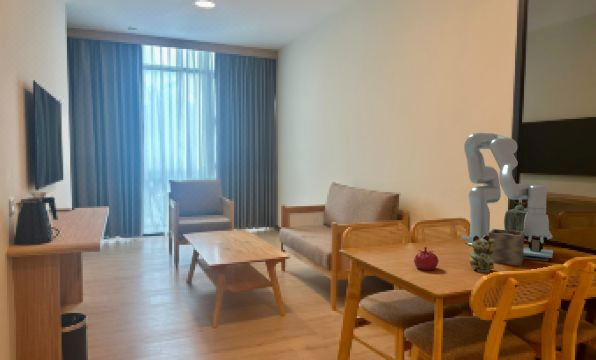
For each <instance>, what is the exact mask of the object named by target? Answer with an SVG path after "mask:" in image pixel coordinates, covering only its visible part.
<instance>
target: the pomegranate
mask: <svg viewBox="0 0 596 360" xmlns="http://www.w3.org/2000/svg"><path fill="white" fill-rule="evenodd" d="M423 248H424V249H423V250H420V249H418V250H417V254H416V255H415V257H414V259H413V263H414V265H415V266H414V267H416V268H417V269H419V270H422V271H432V270H434V269H436V268H437V267H438V265H439V261H440V260H439V257H438V256H437V255H436V254H435V253H436V251H434V250H432V249H431V250H430V249H429V250H428V247H426V246H424V247H423Z"/></svg>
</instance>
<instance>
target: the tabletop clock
mask: <svg viewBox="0 0 596 360" xmlns="http://www.w3.org/2000/svg"><path fill="white" fill-rule="evenodd" d="M524 200H525V202H523V203H522V201H519V202H516V201H515V200H512V202H513V203H514V204H515V205H516V206H515V207H514V208H512V209H509V210H506V211H505V213H504V221H503V225H504V226H503V227H504V230H512V231H523V229H524V219H525V214H527V212H526V211H524V208H525V206H524V205H525V204H528V199H524ZM527 236H528V235H527ZM528 237H529V236H528ZM531 240H533V239H531Z"/></svg>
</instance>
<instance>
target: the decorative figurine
mask: <svg viewBox="0 0 596 360" xmlns="http://www.w3.org/2000/svg"><path fill="white" fill-rule="evenodd" d="M494 242H495V240H494V239H489V236H488V235H485V236H484V237H483V238H482V239H479V237H478V236H474V237H473V242H472V246H471V247H472V248H473V250H472V251H470V254H469V256H470V258H469V259H468V260H469V264H470V267H471V268H473V270H474V269H475V270H476V272H479V273H480V272H481V273H490V271H491V269H492V270H493V269H495V266H494V265H495V261H494V259H492V258H490V255H491V254H492V253H493V252H494V248H493V243H494Z"/></svg>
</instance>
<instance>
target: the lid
mask: <svg viewBox="0 0 596 360" xmlns="http://www.w3.org/2000/svg"><path fill="white" fill-rule="evenodd" d="M539 243H540V239H532V250H531V251H530V248H529V247H525V246H524V255H529V256H538V257H548V259H550V258H551V259H553V254H554V250H553V249H547V248H543V250H541V252H540V251H539Z"/></svg>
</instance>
